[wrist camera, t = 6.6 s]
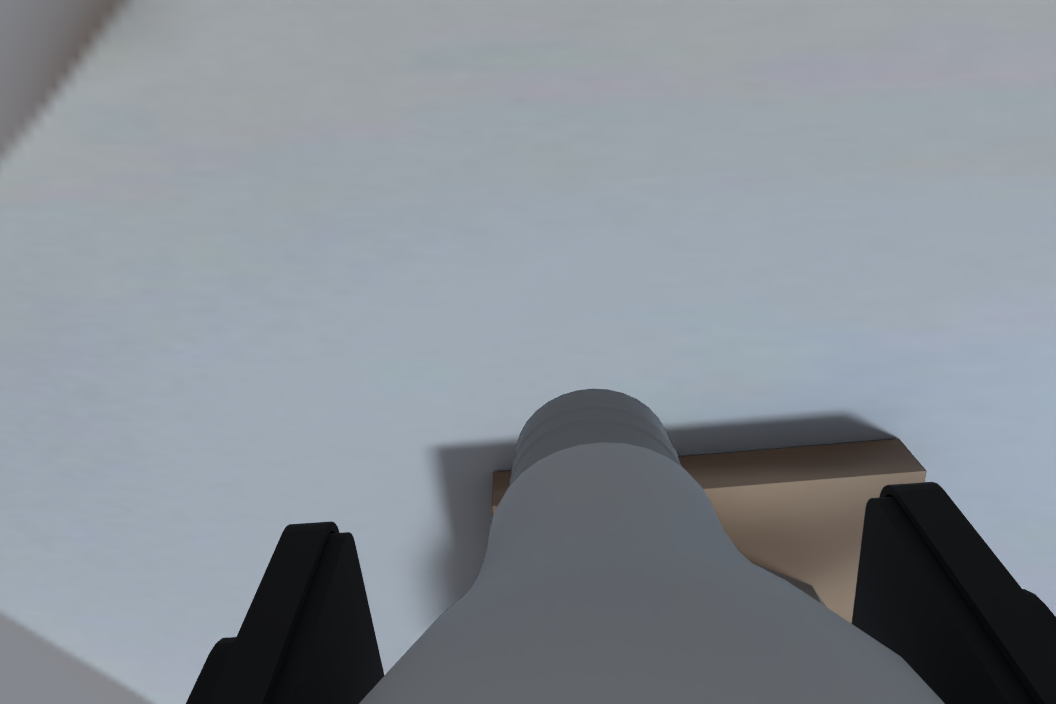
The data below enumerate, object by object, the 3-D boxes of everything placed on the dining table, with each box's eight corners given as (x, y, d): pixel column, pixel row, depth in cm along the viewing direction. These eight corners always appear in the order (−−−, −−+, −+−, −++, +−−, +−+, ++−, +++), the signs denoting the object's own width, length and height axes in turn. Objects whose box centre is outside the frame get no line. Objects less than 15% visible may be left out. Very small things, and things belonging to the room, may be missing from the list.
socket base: (493, 471, 28) (490, 567, 23) (898, 438, 28) (975, 529, 23) (531, 784, 34) (534, 906, 30) (857, 759, 34) (910, 878, 30)
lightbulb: (394, 549, 15) (112, 1744, 5) (428, 232, 12) (-30, 1417, 2) (718, 590, 15) (1072, 1773, 5) (817, 291, 13) (1910, 1525, 3)
